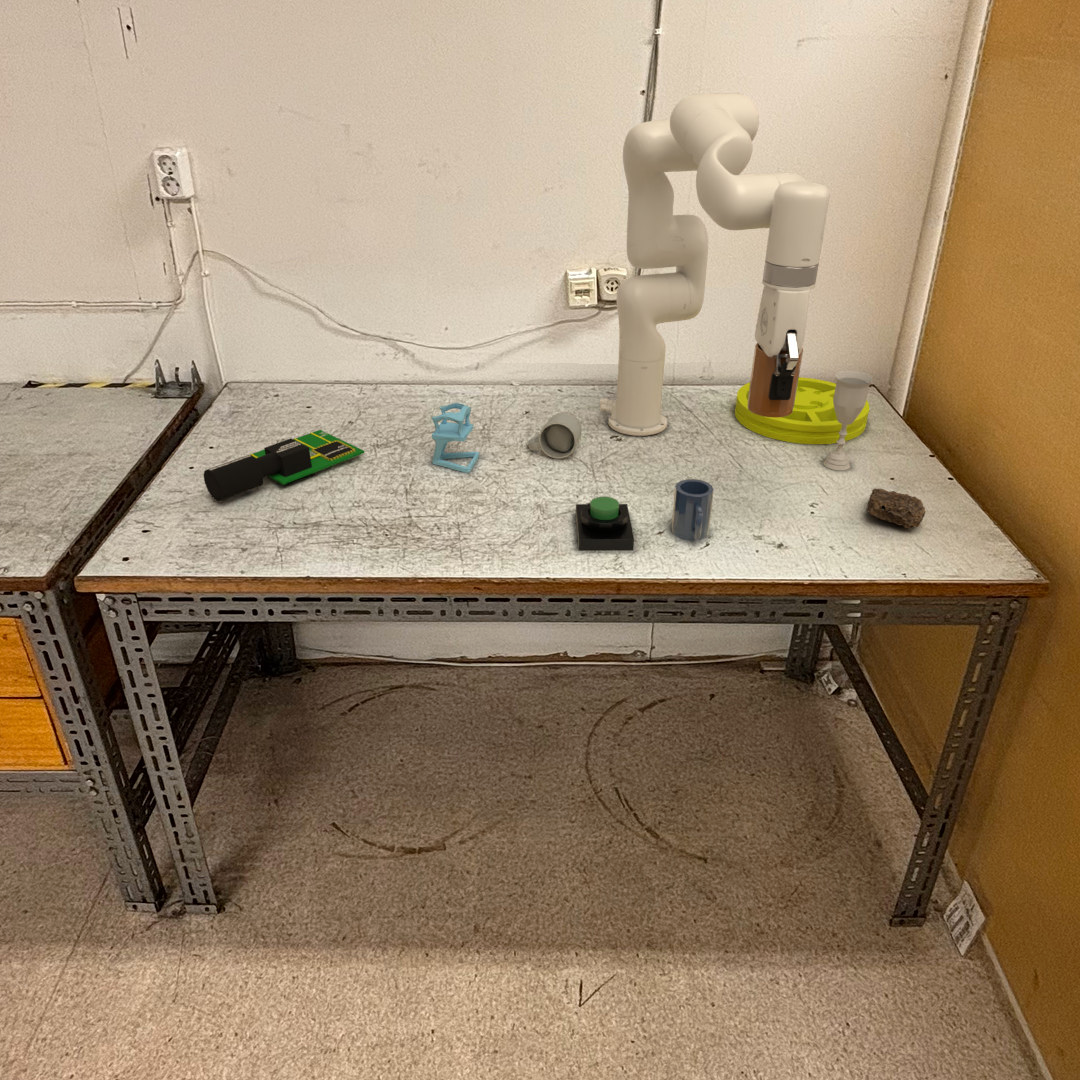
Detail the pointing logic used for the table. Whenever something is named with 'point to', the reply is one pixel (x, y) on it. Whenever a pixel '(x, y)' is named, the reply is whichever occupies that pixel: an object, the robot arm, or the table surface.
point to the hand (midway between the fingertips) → (772, 388)
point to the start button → (604, 508)
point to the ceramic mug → (558, 436)
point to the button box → (604, 531)
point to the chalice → (847, 410)
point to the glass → (761, 386)
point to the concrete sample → (896, 508)
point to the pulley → (802, 416)
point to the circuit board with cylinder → (278, 464)
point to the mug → (692, 509)
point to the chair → (452, 436)
